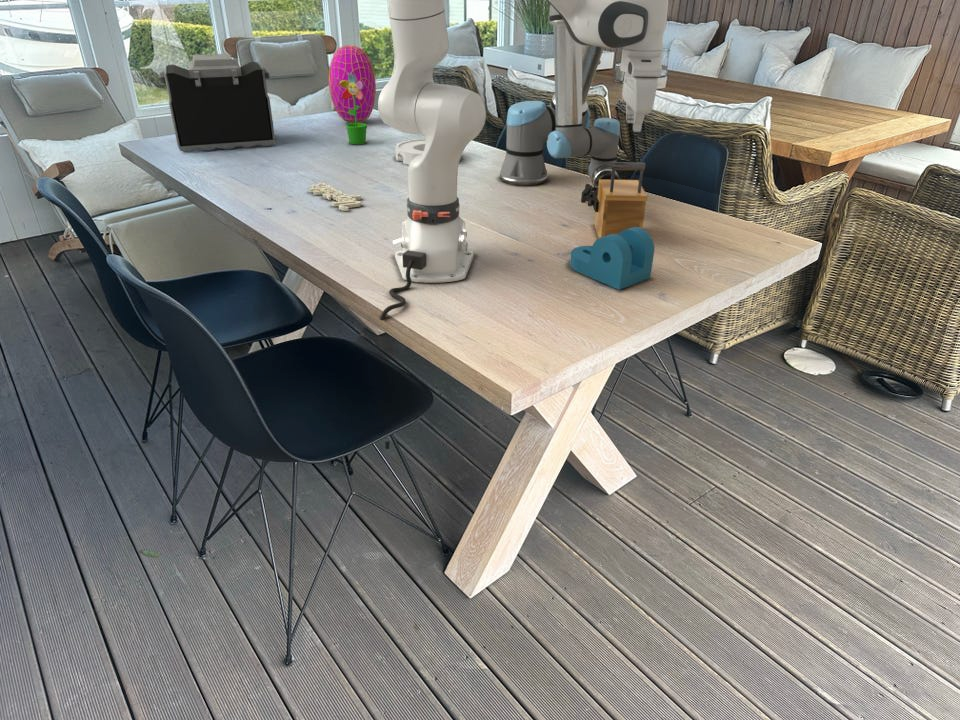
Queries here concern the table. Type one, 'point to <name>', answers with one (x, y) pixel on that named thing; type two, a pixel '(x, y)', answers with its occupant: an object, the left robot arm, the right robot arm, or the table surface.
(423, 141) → the ashtray
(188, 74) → the electronic device
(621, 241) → the blue clevis bracket
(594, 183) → the right robot arm
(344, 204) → the decorative sign
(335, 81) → the decorative egg
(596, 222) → the chest
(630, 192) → the lid
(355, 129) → the potted flower
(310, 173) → the table surface
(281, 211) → the table surface
